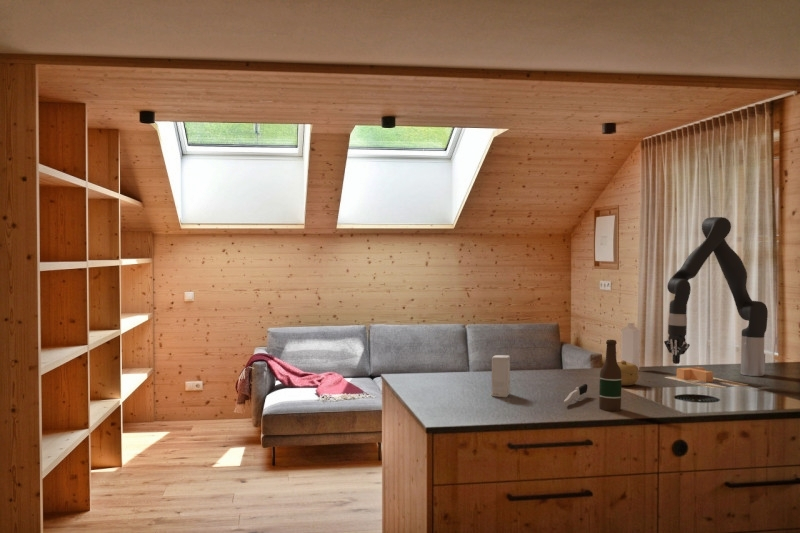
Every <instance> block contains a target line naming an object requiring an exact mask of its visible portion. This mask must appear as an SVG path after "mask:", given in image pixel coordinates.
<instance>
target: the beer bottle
mask: <svg viewBox="0 0 800 533" xmlns="http://www.w3.org/2000/svg"><path fill="white" fill-rule="evenodd" d="M605 344H606V350H605V351H606V352H605V360H604V363H603V364H602V367H601V368H600V372H599V394H598V395H599V396H598V397H599V400H598V404H599V406H598V407H599V409H600V410H602V411H606V412H619V411H621V408H622V385H621V380H622V377H621V370H620V367H619V366H618V364H617V362H618V361H617V344H618V343H617V340H615V339H606V342H605Z"/></svg>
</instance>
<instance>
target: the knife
mask: <svg viewBox="0 0 800 533" xmlns="http://www.w3.org/2000/svg"><path fill="white" fill-rule="evenodd" d="M587 392H588V384H587V383H585V384H582V385H580V386H576V387H575V389H574V390H573V391H570V392H569V394H568V395H567V397H565V399H564V400H563V404H564V405H565V406H568V407H569V406H570V405H571V404H572V403H573V402H574V401H575V400H576V401H579V399H580V396H581V395H584V394H586V393H587Z"/></svg>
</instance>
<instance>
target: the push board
mask: <svg viewBox="0 0 800 533" xmlns="http://www.w3.org/2000/svg"><path fill="white" fill-rule="evenodd" d="M676 377H677V375H675V376H665V377H664V378H666V379H669V380H674V381H679V382H683V383H687V384H692V385H696V386H701V387H704V388H705V387H706V388H711V389H721V388H732V387H741V386H744V387H745V386H748V384H745V383H742V382H737V381H732V380H727V379H722V378H717V377H713V382H703V381H698V380H694V379H679V378H676Z"/></svg>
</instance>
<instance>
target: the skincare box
mask: <svg viewBox="0 0 800 533" xmlns="http://www.w3.org/2000/svg"><path fill="white" fill-rule="evenodd" d="M510 394H511V355H506V354H505V355H504V354H502V355H501V354H495V355H493V356H492V357H491V397H499V398H508V396H509V395H510Z"/></svg>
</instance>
